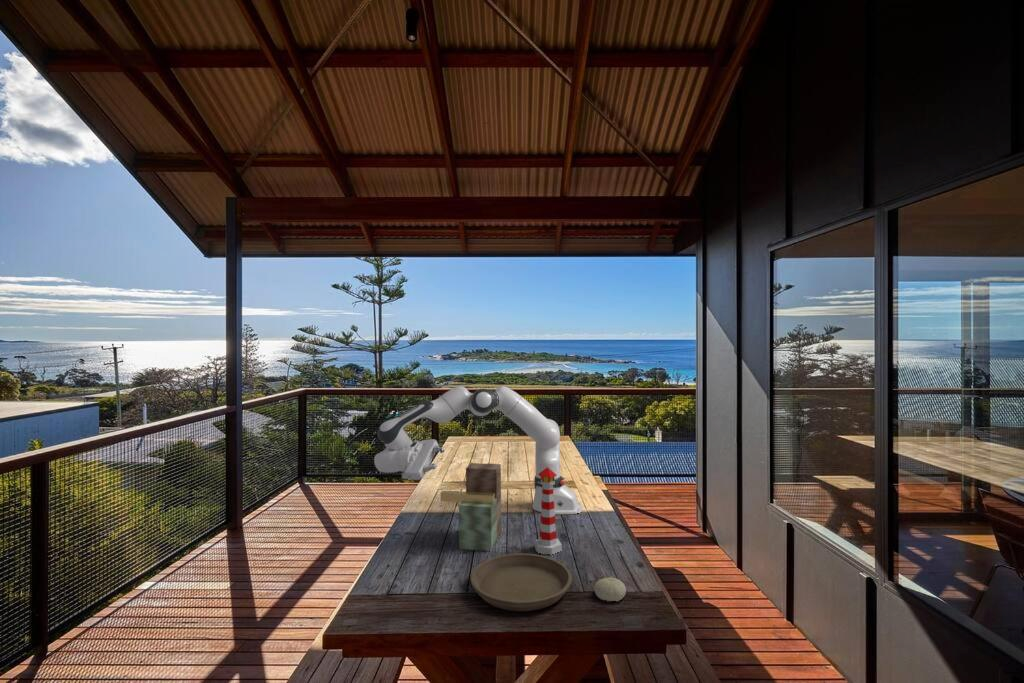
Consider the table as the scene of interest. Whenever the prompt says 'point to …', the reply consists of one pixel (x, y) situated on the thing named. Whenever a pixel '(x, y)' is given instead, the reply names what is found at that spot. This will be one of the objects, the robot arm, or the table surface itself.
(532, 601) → the plant saucer
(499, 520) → the two-tone block tower
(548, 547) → the decorative lighthouse
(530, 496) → the table surface
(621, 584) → the sea urchin shell
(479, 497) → the brass bar
